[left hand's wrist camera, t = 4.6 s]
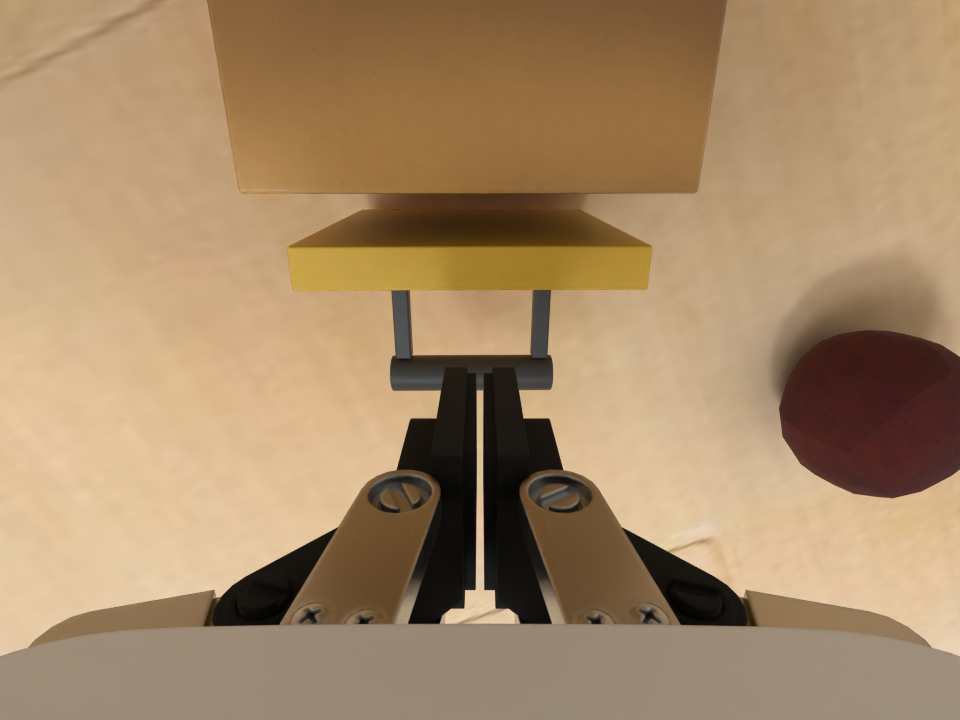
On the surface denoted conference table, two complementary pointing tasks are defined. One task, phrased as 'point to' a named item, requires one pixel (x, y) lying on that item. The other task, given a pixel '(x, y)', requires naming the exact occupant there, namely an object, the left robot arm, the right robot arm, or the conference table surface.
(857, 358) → the potato
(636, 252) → the drawer
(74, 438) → the conference table surface
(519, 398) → the left robot arm
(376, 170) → the cabinet
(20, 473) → the conference table surface
